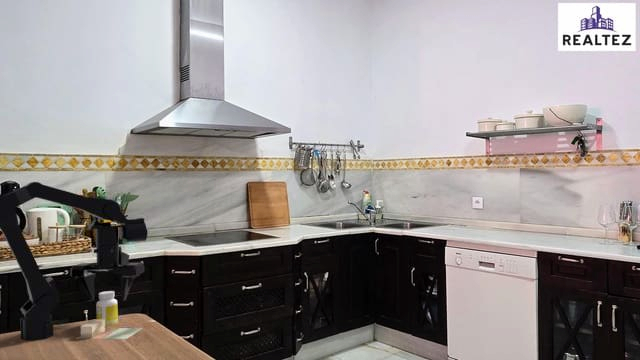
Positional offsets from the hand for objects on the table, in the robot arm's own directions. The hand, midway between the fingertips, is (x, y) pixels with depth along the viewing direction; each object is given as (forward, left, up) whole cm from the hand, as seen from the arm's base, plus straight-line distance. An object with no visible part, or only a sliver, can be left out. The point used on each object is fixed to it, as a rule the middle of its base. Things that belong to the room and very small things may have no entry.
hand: (108, 300), depth 133 cm
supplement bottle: (0, 0, -8) cm, 8 cm away
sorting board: (+5, -9, -8) cm, 13 cm away
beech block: (+1, -10, -6) cm, 12 cm away
